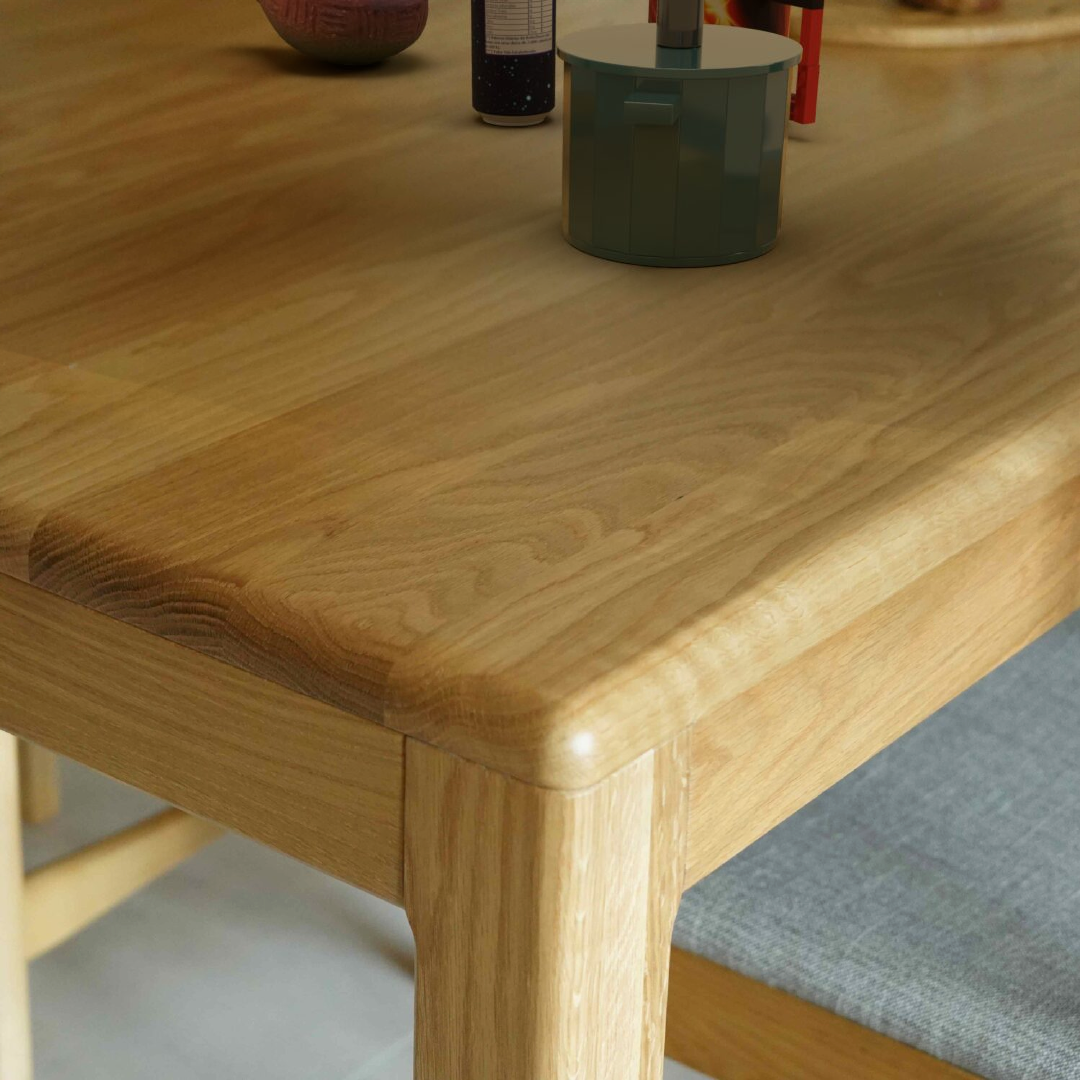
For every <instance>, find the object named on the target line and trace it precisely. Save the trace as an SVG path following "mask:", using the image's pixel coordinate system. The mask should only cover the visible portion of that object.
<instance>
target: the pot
mask: <svg viewBox="0 0 1080 1080" xmlns="http://www.w3.org/2000/svg"><path fill="white" fill-rule="evenodd" d="M793 74H794V67H791V68H789V69H786V70H783V71H779V72H775V73H770V74H765V75H758V76H750V77H741V78H728V79H696V80H688V79H657V78H643V77H632V76H623V75H616V74H609V73H603V72H597V71H593V70H588V69H584V68H581V67H577V66H574V65H572V64H569V63H567V62H565V61H563V83H562V84H563V85H562V86H563V87H562V88H563V90H562V93H563V94H562V95H563V97H562V98H563V99H562V155H561V156H562V160H561V161H562V164H561V166H562V167H561V168H562V169H561V224H562V226H563V227H562V228H563V229H562V230H563V232H562V234H563V236H564V239H565V240H566V241H567V242H568V244H569V245H571V246H572V247H574V248H575V249H578V250H580V251H581V252H583V253H586V254H588V255H592V256H594V257H598V258H601V259H605V260H609V261H614V262H619V263H624V264H632V265H638V266H647V267H660V268H662V267H663V268H701V267H714V266H721V265H722V266H723V265H729V264H735V263H740V262H745V261H748V260H751V259H754V258H758V257H760V256H763V255H765V254H766V253H768V252H770V251H772V250H774V248H775V247H776V245H778V243H779V238H780V229H781V227H782V219H783V218H782V217H783V204H784V191H785V179H786V178H785V177H786V164H787V150H788V141H789V140H788V139H789V138H788V137H789V127H790V126H789V125H790V120H789V114H790V101H791V93H792V88H793V87H792V86H793Z"/></svg>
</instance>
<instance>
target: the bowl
mask: <svg viewBox="0 0 1080 1080" xmlns="http://www.w3.org/2000/svg"><path fill="white" fill-rule="evenodd" d="M255 1H256V2H257V3H258V4H259V6H260V7H261V9H262V11H263V13H264V15H265V16H266V18H267V20H268V22H269V23H270V25H271V26H272V29H274V31H275V32H276V33H277V35H278V36H279V38H281V39H282V41H284V42H285V43H286V44H287V45H289V46H290V47H292V48H293V49H294V50H296V51H298V52H299V53H301V54H303V55H305V56H308V57H310V58H312V59H315V60H319V61H323V62H328V63H333V64H336V65H340V66H352V67H360V66H361V67H362V66H369V65H372V64H375V63H378V62H380V61H382V60H386V59H389V58H392V57H393V56H397V55H398V54H400V53H402V52H404V51H406V50H407V49H408V48H410V47H411V46H412V45H414V44H415V43H416V42H417V41H418V40H419V39H420V38H421V36H422V34H423V33H424V31H425V28H426V26H427V22H428V17H429V0H255Z"/></svg>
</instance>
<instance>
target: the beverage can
mask: <svg viewBox="0 0 1080 1080" xmlns="http://www.w3.org/2000/svg"><path fill="white" fill-rule="evenodd" d="M470 44H471V45H470V48H471V51H470V52H471V57H470V58H471V106H472V108H473V109H474V110H475V111H476V113H478V114H479V115H480V116H481V117H482V120H483V121H484V122H486V123H487V124H491V125H496V126H502V127H503V126H504V127H525V126H533V125H537V124H540V123H542V122H544V120H545V117H546V116H548V114H549V113H551V112H552V111H553V110H554V108H555V107H556V66H557V65H556V59H557V58H556V57H557V54H556V44H557V0H470Z"/></svg>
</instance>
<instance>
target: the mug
mask: <svg viewBox="0 0 1080 1080" xmlns="http://www.w3.org/2000/svg"><path fill="white" fill-rule="evenodd" d="M792 7H797V8H799V9H800V8H801V9H802V10H801V21H800V34H799V35H800V36H799V44H800V45H801V46H802V48H803V54H802V60H801V62H800V63H799V64H797V71H796V72H797V74H796V86H795V87H796V88H795V93H794V92H791V101H790V114H789V121H790V122H791V121H792V122H793V123H795V124H800V125H809V124H815V123H816V118H817V117H816V115H817V105H818V92H819V81H820V70H821V69H820V68H821V65H820V56H821V44H822V32H823V20H824V8H825V0H705V6H704V24H711V25H723V26H732V27H741V28H748V29H754V30H760V31H765V32H770V33H774V34H778V35H781V36H784V37H787V38H790V28H791V27H790V26H791V12H792ZM647 15H648V16H647V23H656V21H657V0H648V13H647Z"/></svg>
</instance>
